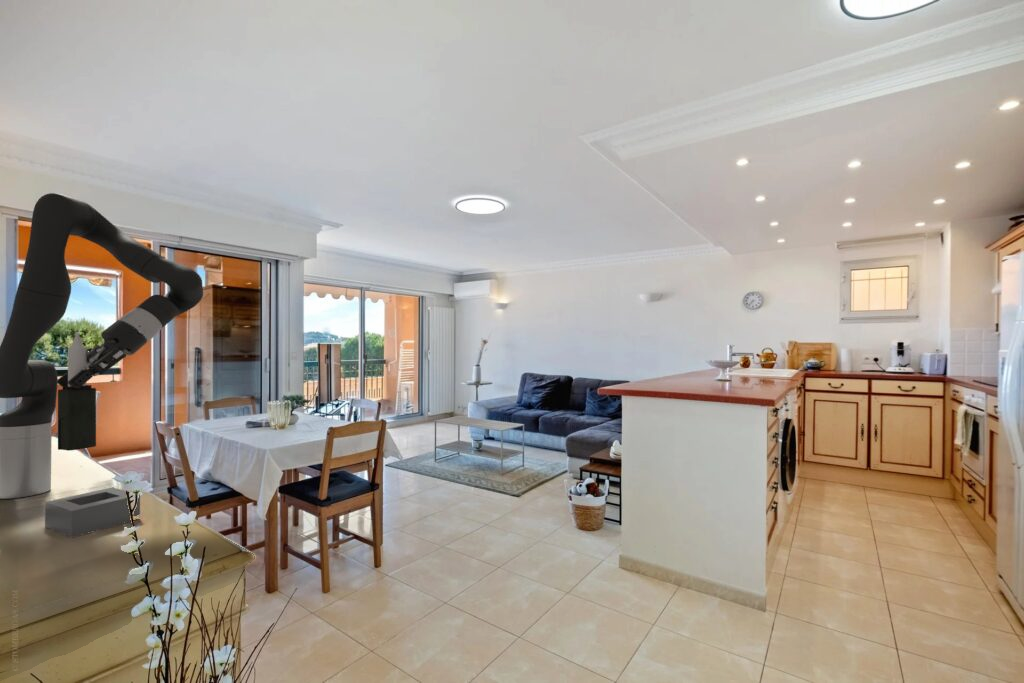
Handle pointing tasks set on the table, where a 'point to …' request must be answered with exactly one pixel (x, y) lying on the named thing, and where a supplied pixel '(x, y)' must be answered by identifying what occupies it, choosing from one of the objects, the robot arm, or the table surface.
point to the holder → (88, 512)
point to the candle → (76, 405)
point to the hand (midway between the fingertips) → (66, 385)
